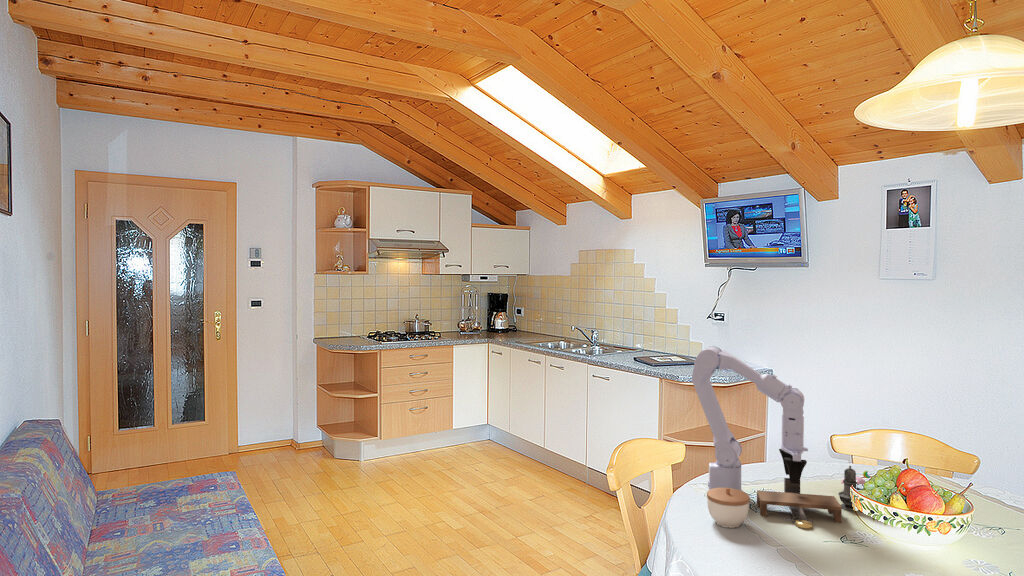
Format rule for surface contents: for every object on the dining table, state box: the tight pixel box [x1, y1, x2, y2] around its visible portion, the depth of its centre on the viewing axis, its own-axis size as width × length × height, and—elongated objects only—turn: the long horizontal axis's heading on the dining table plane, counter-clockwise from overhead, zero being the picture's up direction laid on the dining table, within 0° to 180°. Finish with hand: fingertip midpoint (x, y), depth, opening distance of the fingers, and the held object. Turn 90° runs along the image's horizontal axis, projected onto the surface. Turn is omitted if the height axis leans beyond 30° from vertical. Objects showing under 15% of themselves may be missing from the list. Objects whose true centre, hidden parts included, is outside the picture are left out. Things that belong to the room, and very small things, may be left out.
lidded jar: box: [706, 488, 751, 529], centre depth 164 cm, size 11×11×9 cm
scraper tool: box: [783, 477, 813, 524], centre depth 171 cm, size 5×15×7 cm, turn 165°
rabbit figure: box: [840, 470, 871, 486], centre depth 188 cm, size 6×6×15 cm
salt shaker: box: [837, 465, 857, 512], centre depth 174 cm, size 6×6×12 cm
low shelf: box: [756, 489, 843, 524], centre depth 170 cm, size 20×8×4 cm, turn 75°
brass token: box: [795, 520, 813, 531], centre depth 162 cm, size 4×4×1 cm
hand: (792, 478), depth 177 cm, fingers open, 7 cm apart
